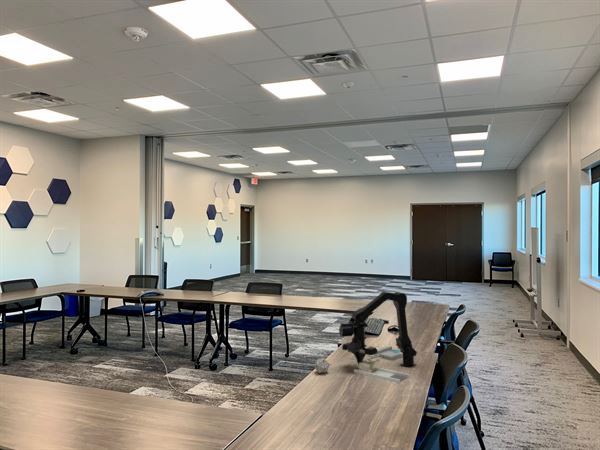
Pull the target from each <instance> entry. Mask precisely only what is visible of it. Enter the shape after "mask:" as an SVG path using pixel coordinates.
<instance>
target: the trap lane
mask: <svg viewBox="0 0 600 450" xmlns="http://www.w3.org/2000/svg"><path fill="white" fill-rule="evenodd" d="M353 373H356V374H360V375H364V376H369V377H371V378H377V379H380V380H384V381H389V382H393V383H396V384H401V382H402V381H403V380H406V379H407V378H408V379H410V378H411V374H409V373H404V372H401V371H397V370H391V369H386V368H383V367H378V366H377V367H376V366H375V371H374V372H372V373H369V372H365V371H361V370H359V369H357V368H355V369H353Z"/></svg>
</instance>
